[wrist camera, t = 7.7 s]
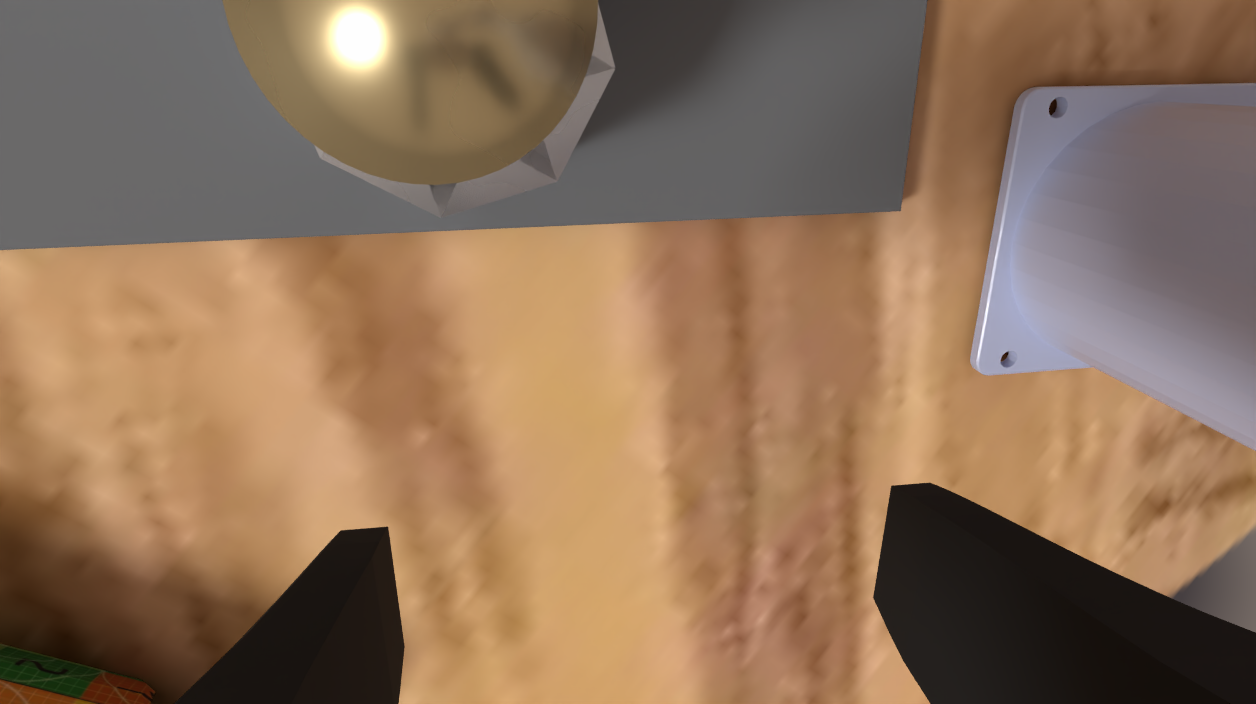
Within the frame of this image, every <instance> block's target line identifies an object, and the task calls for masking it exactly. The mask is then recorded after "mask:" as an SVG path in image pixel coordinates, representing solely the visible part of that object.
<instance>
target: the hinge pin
mask: <svg viewBox="0 0 1256 704" xmlns="http://www.w3.org/2000/svg"><path fill="white" fill-rule="evenodd" d="M222 2H223V5H224V9H225V13H226V17H227V21H228V25H229V28H230V30H231V33H232V36H233V38H234V41H235V43H236V46H237V48H238V51H239V53H240V55H241V57H242V59H243V61H244V63H245V65H246V67H247V68H248V70H249V72H250V74H251V76H252V78H253V79H254V81H255V82H256V84H257V85H258V86H259V88H260V89H261V91H262V92H263V94H264V95H265V97H266V98H267V100H268V101H269V102H270V103H271V104H272V105H273V107H274V108H275V109H276V110H277V111H278V112H279V113H280V115H281V116H282V117H283V118H284V119H285V120H286V121H287V122H288V123H289V124H290V125H291V126H292V127H293V128H294V129H296V130H297V131H298V132H299V133H300V134H301V135H302V136H303V137H304V138H306V139H307V140H308V141H310V142H311V143H312V144H314V145H315V146H317V147H318V148H319V149H321V150H322V151H323V152H325V153H327V154H328V155H330V156H332V157H334V158H335V159H337V160H339V161H341V162H342V163H344V164H346V165H348V166H351V167H353V168H355V169H358V170H360V171H362V172H365V173H367V174H370V175H373V176H377V177H380V178H384V179H387V180H391V181H397V182H403V183H409V184H424V185H440V184H450V183H459V182H464V181H468V180H472V179H476V178H480V177H483V176H485V175H488V174H491V173H493V172H496V171H499V170H501V169H503V168H504V167H506V166H508V165H510V164H512V163H514V162H515V161H517V160H519V159H520V158H522V157H523V156H524V155H526V154H527V153H528V152H530V151H531V150H533V149H534V148H535V147H537V146H538V145H539V144H540V143H541V142H542V141H543V140H544V139H545V138H546V137H547V136H548V135H549V134H550V133H551V132H552V131H553V130H554V128H555V127H556V126H557V125H558V123H559V122H560V121H561V119H562V118H563V117H564V116H565V114H566V113H567V111H568V109H569V108H570V106H571V104H572V103H573V101H574V99H575V98H576V96H577V94H578V92H579V90H580V87H581V85H582V83H583V80H584V78H585V76H586V73H587V70H588V67H589V63H590V60H591V56H592V53H593V49H594V42H595V36H596V30H597V17H598V0H222Z"/></svg>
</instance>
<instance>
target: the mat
mask: <svg viewBox="0 0 1256 704" xmlns="http://www.w3.org/2000/svg"><path fill="white" fill-rule="evenodd" d="M598 4H599V8H600V12H601V16H602V19H603V23H604V27H605V31H606V34H607V38H608V42H609V46H610V50H611V53H612V57H613V61H614V65H615V70H614V72H613V74H612V76H611V78H610V80H609V82H608V84H607V86H606V88H605V90H604V92H603V94H602V96H601V98H600V100H599V102H598V103H597V105H596V107H595V109H594V111H593V113H592V115H591V117H590V119H589V121H588V123H587V125H586V127H585V129H584V131H583V133H582V135H581V137H580V139H579V141H578V143H577V144H576V146H575V148H574V150H573V152H572V154H571V156H570V158H569V160H568V162H567V164H566V166H565V168H564V170H563V172H562V174H561V176H560V178H559V180H558V181H557V182H555V183H552V184H549V185H545V186H542V187H539V188H536V189H533V190H529V191H526V192H523V193H520V194H516V195H513V196H510V197H507V198H504V199H500V200H497V201H494V202H491V203H487V204H484V205H481V206H478V207H475V208H471V209H468V210H465V211H462V212H458V213H455V214H452V215H449V216H446V217H442V218H440V217H438V216H436V215H434V214H432V213H430V212H428V211H426V210H424V209H422V208H420V207H418V206H416V205H414V204H412V203H410V202H408V201H406V200H403V199H401V198H399V197H397V196H395V195H393V194H391V193H389V192H387V191H385V190H383V189H381V188H379V187H377V186H375V185H373V184H371V183H369V182H367V181H365V180H363V179H361V178H359V177H357V176H355V175H353V174H351V173H349V172H347V171H345V170H343V169H340V168H338V167H336V166H334V165H332V164H330V163H328V162H326V161H324V160H322V159H321V158H320V157H319V155H318V152H317V150H316V148H315V146H314V144H312V143H311V142H310V141H308V140H307V139H306V138H304V137H303V136H302V135H301V134H300V133H299V132H298V131H297V130H296V129H294V128H293V127H292V126H291V125H290V124H289V123H288V122H287V121H286V120H285V119H284V118H283V117H282V116H281V115H280V113H279V112H278V111H277V110H276V109H275V108H274V107H273V105H272V104H271V103H270V102H269V101H268V100H267V98H266V97H265V95H264V94H263V92H262V91H261V89H260V88H259V86H258V85H257V84H256V82H255V81H254V79H253V78H252V76H251V74H250V72H249V70H248V68H247V67H246V65H245V63H244V61H243V59H242V57H241V55H240V53H239V51H238V48H237V46H236V43H235V41H234V38H233V36H232V33H231V30H230V28H229V25H228V21H227V17H226V13H225V9H224V5H223V2H222V0H0V250H12V249H35V248H58V247H81V246H104V245H127V244H151V243H174V242H197V241H220V240H243V239H266V238H289V237H312V236H335V235H359V234H382V233H405V232H428V231H451V230H474V229H497V228H520V227H544V226H567V225H590V224H613V223H636V222H659V221H682V220H705V219H728V218H752V217H775V216H798V215H821V214H844V213H867V212H890V211H901V204H902V196H903V188H904V181H905V173H906V165H907V157H908V149H909V141H910V133H911V125H912V118H913V110H914V102H915V94H916V86H917V78H918V70H919V62H920V55H921V47H922V39H923V31H924V23H925V15H926V7H927V0H598Z"/></svg>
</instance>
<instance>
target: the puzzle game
mask: <svg viewBox="0 0 1256 704" xmlns="http://www.w3.org/2000/svg"><path fill="white" fill-rule="evenodd" d="M155 692H156V691H154V690H153V689H152V688H151V687H149V686H148V685H147V684H146V683H145V682H144V681H143V680H140V679H136V678H132V677H128V676H124V675H121V674H117V673H113V672H109V671H105V670H101V669H97V668H93V667H90V666H86V665H82V664H78V663H74V662H70V661H66V660H62V659H58V658H55V657H51V656H47V655H43V654H39V653H35V652H31V651H27V650H23V649H20V648H16V647H12V646H8V645H4V644H0V704H151V701H152V699H153V697H154V694H155Z"/></svg>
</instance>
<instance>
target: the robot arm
mask: <svg viewBox="0 0 1256 704" xmlns="http://www.w3.org/2000/svg"><path fill="white" fill-rule="evenodd" d="M1054 99H1056V101H1057V108H1056V110H1055V112H1054V113H1053V114H1052V115H1050V114H1049V106H1050V104H1051V102H1052V101H1053V100H1054ZM1006 352H1009V354H1008V356H1007V358H1006V359H1005V360H1004V361H1002V362H1001V361H1000V360H1001V357H1002V355H1003V354H1005V353H1006ZM970 362H971V365H972V367H973V368H974V369H976V370H977V371H979V372H980V373H982V374H983V375H1001V374H1013V373H1026V372H1039V371H1052V370H1065V369H1077V368H1090V367H1094V368H1096V369H1098V370H1100V371H1102V372H1104V373H1106V374H1108V375H1109V376H1111V377H1113V378H1115V379H1117V380H1119V381H1121V382H1123V383H1125V384H1127V385H1129V386H1131V387H1133V388H1135V389H1137V390H1139V391H1140V392H1142V393H1144V394H1146V395H1148V396H1150V397H1152V398H1154V399H1156V400H1158V401H1160V402H1162V403H1164V404H1166V405H1168V406H1170V407H1172V408H1173V409H1175V410H1177V411H1179V412H1181V413H1183V414H1185V415H1187V416H1189V417H1191V418H1193V419H1195V420H1197V421H1199V422H1201V423H1203V424H1205V425H1206V426H1208V427H1210V428H1212V429H1214V430H1216V431H1218V432H1220V433H1222V434H1224V435H1226V436H1228V437H1230V438H1232V439H1234V440H1236V441H1238V442H1239V443H1241V444H1243V445H1245V446H1247V447H1249V448H1251V449H1253V450H1255V451H1256V83H1219V84H1164V85H1110V86H1056V87H1033V88H1029V89H1027V90H1026V91H1024V92H1023V93H1022V94H1021V95H1020V96H1019V98H1018V99H1017V101H1016V104H1015V107H1014V111H1013V117H1012V123H1011V128H1010V134H1009V140H1008V145H1007V151H1006V157H1005V163H1004V168H1003V174H1002V180H1001V185H1000V191H999V197H998V202H997V208H996V214H995V220H994V225H993V231H992V237H991V242H990V248H989V254H988V259H987V265H986V271H985V277H984V282H983V288H982V294H981V299H980V305H979V311H978V317H977V322H976V328H975V334H974V339H973V345H972V351H971V356H970ZM873 598H874V600H875V603H876V605H877V607H878V609H879V611H880V613H881V616H882V618H883V620H884V622H885V624H886V627H887V629H888V631H889V633H890V635H891V637H892V639H893V641H894V643H895V645H896V647H897V649H898V651H899V653H900V655H901V657H902V659H903V661H904V663H905V664H906V666H907V667H908V669H909V671H910V672H911V674H912V675H913V677H914V679H915V680H916V682H917V683H918V685H919V686H920V688H921V689H922V691H923V693H924V694H925V696H926V697H927V699H928V700H929V702H930V703H931V704H1256V633H1255V632H1252V631H1250V630H1247V629H1245V628H1242V627H1240V626H1237V625H1235V624H1232V623H1229V622H1227V621H1224V620H1222V619H1219V618H1217V617H1214V616H1212V615H1209V614H1207V613H1204V612H1202V611H1200V610H1197V609H1195V608H1192V607H1190V606H1188V605H1185V604H1183V603H1181V602H1178V601H1176V600H1174V599H1171V598H1169V597H1167V596H1165V595H1163V594H1160V593H1158V592H1156V591H1154V590H1152V589H1149V588H1147V587H1145V586H1143V585H1141V584H1138V583H1136V582H1134V581H1132V580H1130V579H1127V578H1125V577H1123V576H1121V575H1119V574H1117V573H1114V572H1112V571H1110V570H1108V569H1106V568H1104V567H1102V566H1100V565H1098V564H1096V563H1094V562H1092V561H1089V560H1087V559H1085V558H1083V557H1081V556H1079V555H1077V554H1075V553H1073V552H1071V551H1069V550H1067V549H1065V548H1063V547H1061V546H1059V545H1057V544H1055V543H1053V542H1051V541H1049V540H1047V539H1045V538H1043V537H1041V536H1039V535H1037V534H1035V533H1034V532H1032V531H1030V530H1028V529H1026V528H1024V527H1022V526H1020V525H1018V524H1016V523H1014V522H1012V521H1010V520H1008V519H1006V518H1004V517H1002V516H1000V515H998V514H996V513H994V512H992V511H990V510H988V509H986V508H984V507H982V506H980V505H978V504H976V503H974V502H972V501H970V500H968V499H966V498H964V497H962V496H960V495H958V494H955V493H953V492H951V491H949V490H946V489H944V488H942V487H939V486H937V485H934V484H932V483H920V484H908V485H896V486H891V491H890V497H889V504H888V510H887V516H886V522H885V528H884V535H883V541H882V547H881V553H880V559H879V566H878V572H877V578H876V584H875V591H874V597H873ZM403 656H404V639H403V632H402V625H401V618H400V610H399V603H398V596H397V588H396V581H395V574H394V567H393V559H392V552H391V545H390V537H389V530H388V527H379V528H367V529H354V530H342V531H340V532H339V533H338V534H337V535H336V536H335V537H334V538H333V539H332V540H331V541H330V542H329V543H328V545H327V546H326V547H325V548H324V549H323V550H322V551H321V552H320V553H319V554H318V556H317V557H316V558H315V559H314V560H313V561H312V562H311V563H310V564H309V566H308V567H307V568H306V569H305V570H304V571H303V572H302V573H301V574H300V576H299V577H298V578H297V579H296V580H295V581H294V582H293V583H292V584H291V586H290V587H289V588H288V589H287V590H286V591H285V592H284V593H283V594H282V595H281V597H280V598H279V599H278V600H277V601H276V602H275V603H274V604H273V605H272V606H271V607H270V608H269V609H268V610H267V612H266V613H265V614H264V615H263V616H262V617H261V618H260V619H259V620H258V621H257V622H256V623H255V624H254V625H253V626H252V627H251V628H250V629H249V631H248V632H247V633H246V634H245V635H244V636H243V637H242V638H241V639H240V640H239V641H238V642H237V643H236V644H235V645H234V646H233V647H232V648H231V649H230V650H229V651H228V652H227V653H226V654H225V655H224V656H223V657H222V658H221V659H220V660H219V661H218V662H217V663H216V664H215V665H214V666H213V667H212V668H211V669H210V670H209V671H208V672H207V673H206V674H205V675H203V676H202V677H201V678H200V679H199V680H198V681H197V682H196V683H195V684H194V685H193V686H192V687H191V688H190V689H189V690H188V691H187V692H186V693H185V694H184V695H183V696H182V697H181V698H180V699H179V700H178V701H177V702H175V703H174V704H398V703H399V694H400V686H401V676H402V666H403Z"/></svg>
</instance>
